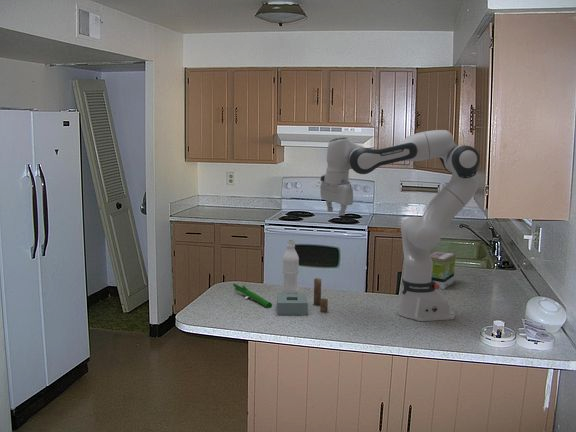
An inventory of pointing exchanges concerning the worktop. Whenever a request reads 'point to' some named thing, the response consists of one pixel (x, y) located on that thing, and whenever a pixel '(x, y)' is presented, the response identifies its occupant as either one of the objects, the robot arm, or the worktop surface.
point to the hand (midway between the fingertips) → (335, 213)
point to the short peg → (323, 305)
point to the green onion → (252, 296)
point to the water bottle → (290, 269)
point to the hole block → (292, 304)
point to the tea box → (443, 268)
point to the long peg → (317, 291)
